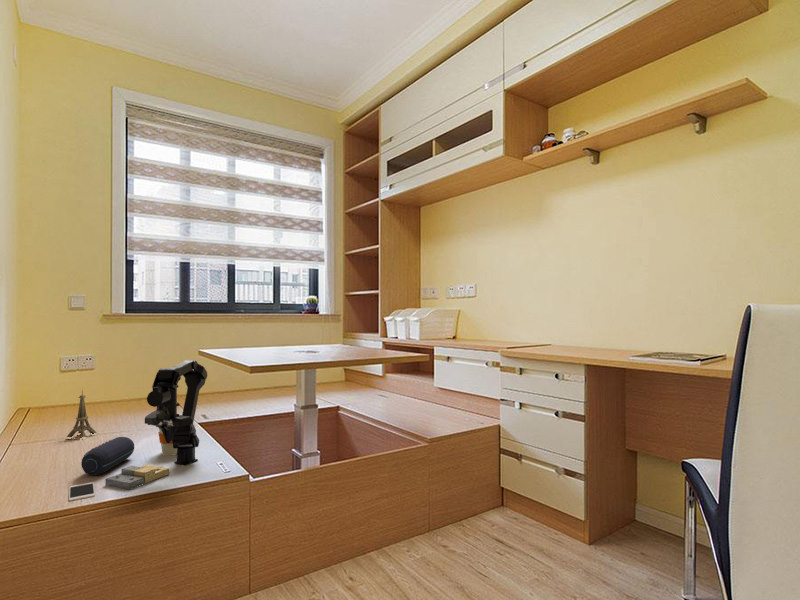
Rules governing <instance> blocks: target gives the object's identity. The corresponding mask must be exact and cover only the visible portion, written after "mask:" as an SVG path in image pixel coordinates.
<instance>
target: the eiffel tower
mask: <svg viewBox="0 0 800 600" xmlns="http://www.w3.org/2000/svg"><path fill="white" fill-rule="evenodd" d="M83 388H84V387H82V389H81V395H79V396H78V399H79V406H78V411H77V416H76V417H75V420H76V421H75V424H74V426H73V427H72V428H73V429H72V430H70V432H69V433H67V435H66V437H72V436H73V437H74V436H75V434H76V433H77V434H78V433H81V434H80V436H79V438H80V437H81V438H82V437H87V435H86V433H85V431H87V432H88V433H90V434H91V433H92V434H94V433H97V434H98V431H96V430H95V429H94V427H92V426H91V424H90V423H89V420H88V418H89V416H87V409H86V403H85V398H86V395H85V394H83V393H84V392H83Z"/></svg>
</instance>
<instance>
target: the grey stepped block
mask: <svg viewBox="0 0 800 600" xmlns="http://www.w3.org/2000/svg"><path fill="white" fill-rule="evenodd" d="M141 468H143V467H141V466H135V465H130V466H126V467H123V468H121V473H119V474H115V475H112V476H109V477H106V478H105V479H104V483H105V485H104V486H105V487H110V488H117V489H120V490H121V489H122V490H126V491H127V490H128V491H129V490H133V489H136V488H138V487H140V486H139V485H141V486H143V485H145V483H144V477H139V476H134V471H135V470H138V469H141ZM142 484H143V485H142ZM137 486H138V487H137ZM135 487H136V488H135ZM132 488H133V489H132Z"/></svg>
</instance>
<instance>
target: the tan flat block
mask: <svg viewBox="0 0 800 600" xmlns="http://www.w3.org/2000/svg"><path fill="white" fill-rule="evenodd" d="M140 467H143V468H141V469H138V470H135V471H134V476H139V477H144V484H147V483H149V482H152V481H155V480H157V479H160V478H162V477H165V476H167V475H170V467H165V466H158V465H151V464H145V465H141V466H140Z"/></svg>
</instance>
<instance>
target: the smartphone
mask: <svg viewBox="0 0 800 600" xmlns="http://www.w3.org/2000/svg"><path fill="white" fill-rule="evenodd" d="M68 489H69V490H68V502H73V500H74V501H79V500H78V499H80V500H84V498H85V499H88V498H89V499H90V498H93V497H96V491H95V483H94V482H85V483H81V484H76V485H70V486H69V488H68Z"/></svg>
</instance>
